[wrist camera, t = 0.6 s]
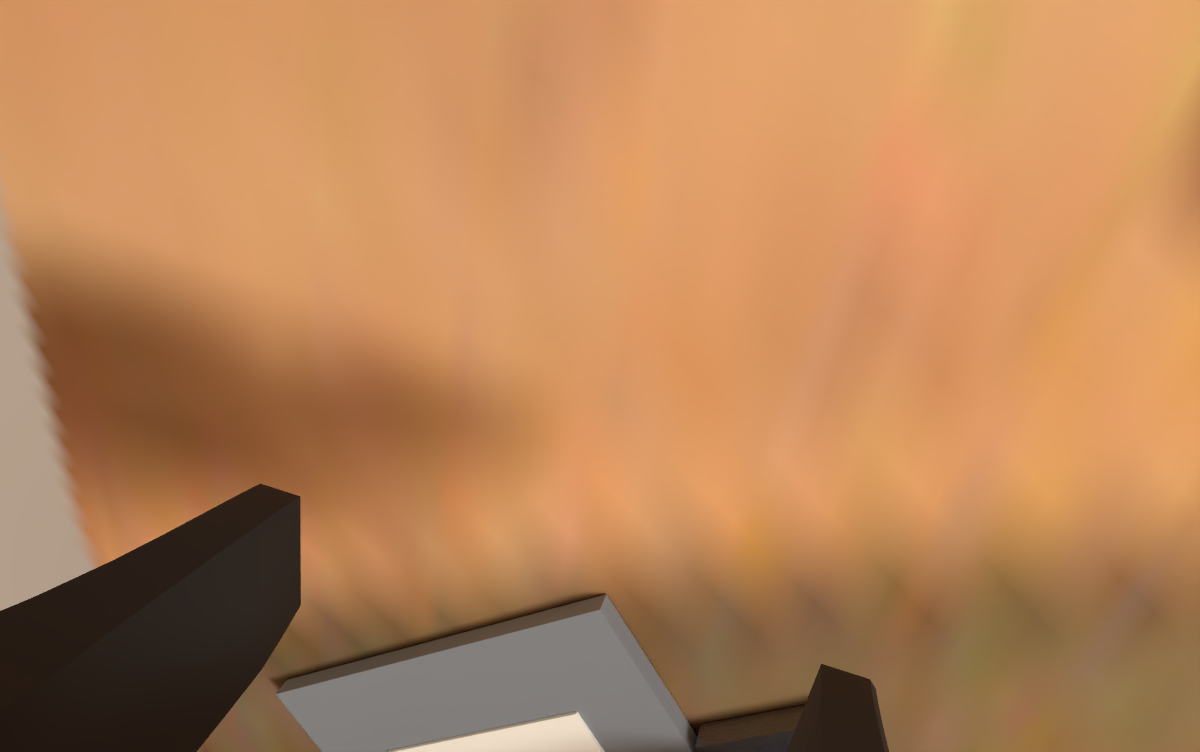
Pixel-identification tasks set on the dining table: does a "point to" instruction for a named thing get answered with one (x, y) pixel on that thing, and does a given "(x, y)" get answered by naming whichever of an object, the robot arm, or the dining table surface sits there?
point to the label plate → (499, 692)
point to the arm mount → (750, 732)
